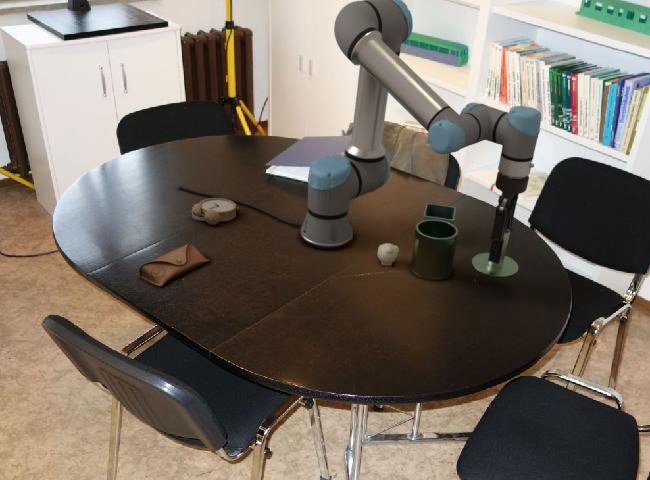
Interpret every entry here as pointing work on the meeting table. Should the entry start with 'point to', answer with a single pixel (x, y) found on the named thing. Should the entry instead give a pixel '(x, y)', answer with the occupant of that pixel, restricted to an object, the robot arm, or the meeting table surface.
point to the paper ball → (387, 253)
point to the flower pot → (439, 212)
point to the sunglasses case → (172, 265)
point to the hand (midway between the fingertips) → (496, 257)
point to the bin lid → (491, 269)
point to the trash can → (433, 249)
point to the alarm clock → (214, 210)
